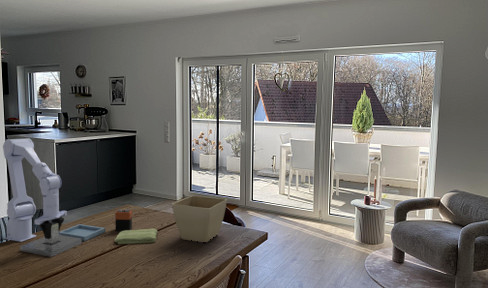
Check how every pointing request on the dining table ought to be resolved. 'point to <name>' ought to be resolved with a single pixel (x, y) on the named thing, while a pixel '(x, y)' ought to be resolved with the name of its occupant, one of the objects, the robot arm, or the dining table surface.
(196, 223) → the flower pot
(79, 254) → the dining table surface
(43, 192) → the robot arm
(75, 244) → the pin plate
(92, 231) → the tray
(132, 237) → the washcloth
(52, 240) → the pin
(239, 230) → the dining table surface
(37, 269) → the dining table surface
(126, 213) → the battery
